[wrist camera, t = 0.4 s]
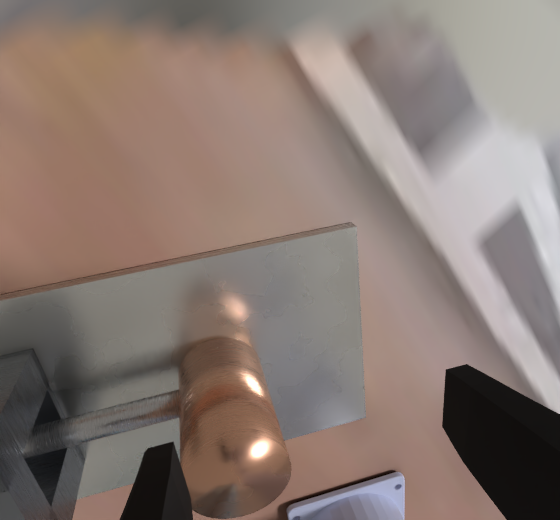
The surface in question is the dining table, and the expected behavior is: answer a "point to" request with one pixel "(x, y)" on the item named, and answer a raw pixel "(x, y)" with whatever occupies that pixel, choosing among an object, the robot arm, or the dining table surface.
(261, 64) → the dining table surface
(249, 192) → the dining table surface
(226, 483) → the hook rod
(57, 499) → the grey plate
